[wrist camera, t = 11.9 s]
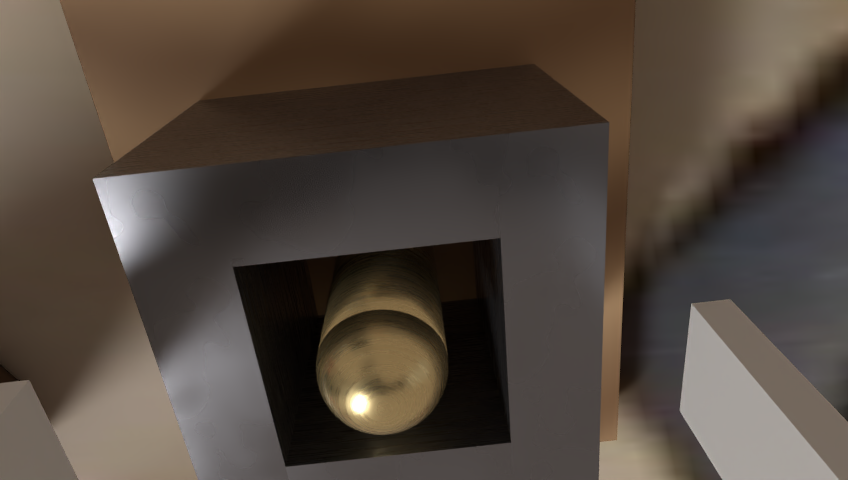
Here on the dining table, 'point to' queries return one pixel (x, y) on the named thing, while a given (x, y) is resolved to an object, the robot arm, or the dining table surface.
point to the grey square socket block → (369, 232)
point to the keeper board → (365, 62)
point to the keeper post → (383, 340)
